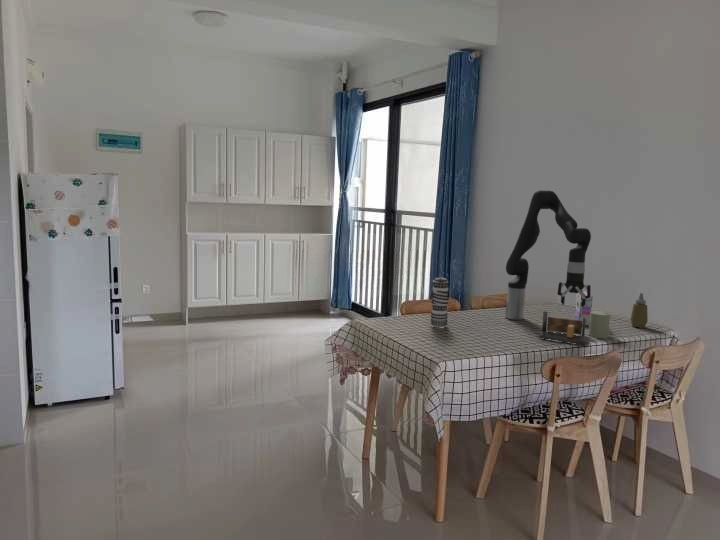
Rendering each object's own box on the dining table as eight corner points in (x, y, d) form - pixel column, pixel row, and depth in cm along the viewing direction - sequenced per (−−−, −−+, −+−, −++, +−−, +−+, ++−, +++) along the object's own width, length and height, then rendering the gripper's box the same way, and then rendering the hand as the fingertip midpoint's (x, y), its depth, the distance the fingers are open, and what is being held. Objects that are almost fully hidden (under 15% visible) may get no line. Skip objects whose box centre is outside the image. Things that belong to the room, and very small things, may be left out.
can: (607, 339, 270) (609, 315, 268) (586, 336, 274) (588, 312, 273) (610, 335, 277) (612, 311, 276) (590, 332, 282) (592, 309, 280)
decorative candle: (451, 326, 288) (453, 278, 285) (441, 329, 282) (443, 280, 278) (436, 323, 295) (438, 276, 291) (426, 326, 288) (428, 278, 284)
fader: (566, 337, 263) (567, 326, 262) (568, 334, 267) (569, 324, 267) (572, 337, 262) (573, 327, 261) (573, 335, 266) (574, 324, 266)
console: (540, 339, 267) (540, 335, 267) (543, 335, 275) (543, 331, 275) (584, 345, 258) (585, 341, 258) (586, 341, 266) (587, 336, 266)
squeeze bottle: (646, 326, 298) (649, 292, 295) (647, 329, 290) (650, 295, 288) (629, 324, 301) (632, 291, 298) (629, 327, 294) (633, 293, 291)
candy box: (590, 326, 294) (593, 295, 292) (578, 325, 295) (581, 295, 293) (585, 320, 308) (587, 291, 305) (574, 319, 309) (576, 290, 306)
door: (546, 330, 280) (547, 317, 279) (547, 329, 283) (548, 316, 282) (580, 335, 273) (581, 321, 272) (581, 334, 275) (582, 320, 274)
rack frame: (541, 331, 282) (543, 311, 281) (542, 330, 284) (543, 311, 283) (583, 336, 273) (585, 316, 272) (584, 335, 275) (585, 315, 274)
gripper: (558, 270, 260) (555, 305, 262) (591, 273, 253) (588, 308, 256) (560, 268, 266) (558, 302, 269) (593, 271, 260) (589, 305, 263)
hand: (572, 305), depth 263 cm, fingers open, 8 cm apart
